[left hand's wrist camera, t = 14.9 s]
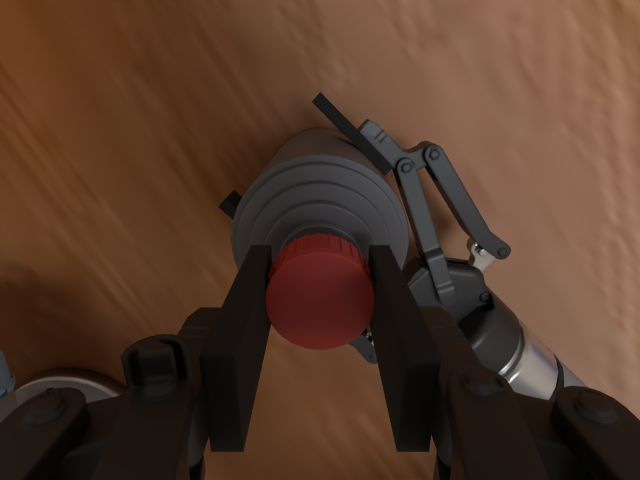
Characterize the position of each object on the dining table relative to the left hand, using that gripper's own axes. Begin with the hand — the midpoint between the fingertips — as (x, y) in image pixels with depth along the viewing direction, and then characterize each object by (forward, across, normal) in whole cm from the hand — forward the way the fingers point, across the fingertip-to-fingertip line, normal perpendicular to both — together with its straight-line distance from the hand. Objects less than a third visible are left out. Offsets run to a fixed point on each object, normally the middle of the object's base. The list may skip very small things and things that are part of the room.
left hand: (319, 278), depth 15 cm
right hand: (+13, -3, +3) cm, 14 cm away
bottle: (+20, 0, 0) cm, 20 cm away
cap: (-2, 0, 0) cm, 2 cm away
